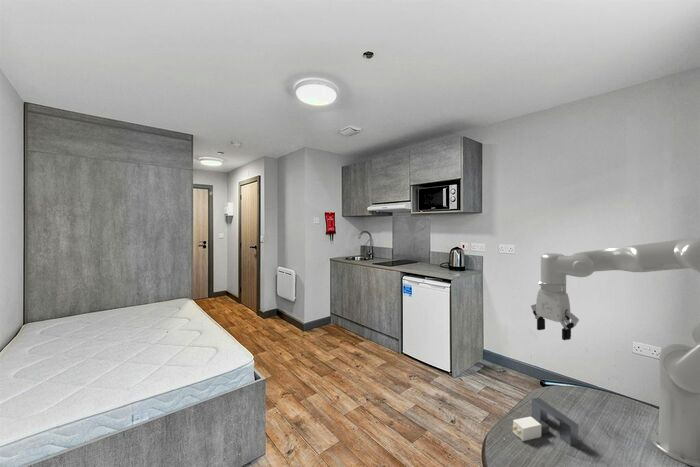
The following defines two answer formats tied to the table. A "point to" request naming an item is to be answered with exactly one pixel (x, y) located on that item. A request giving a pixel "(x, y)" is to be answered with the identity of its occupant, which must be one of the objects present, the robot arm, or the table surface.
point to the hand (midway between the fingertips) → (553, 334)
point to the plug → (529, 428)
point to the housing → (566, 425)
